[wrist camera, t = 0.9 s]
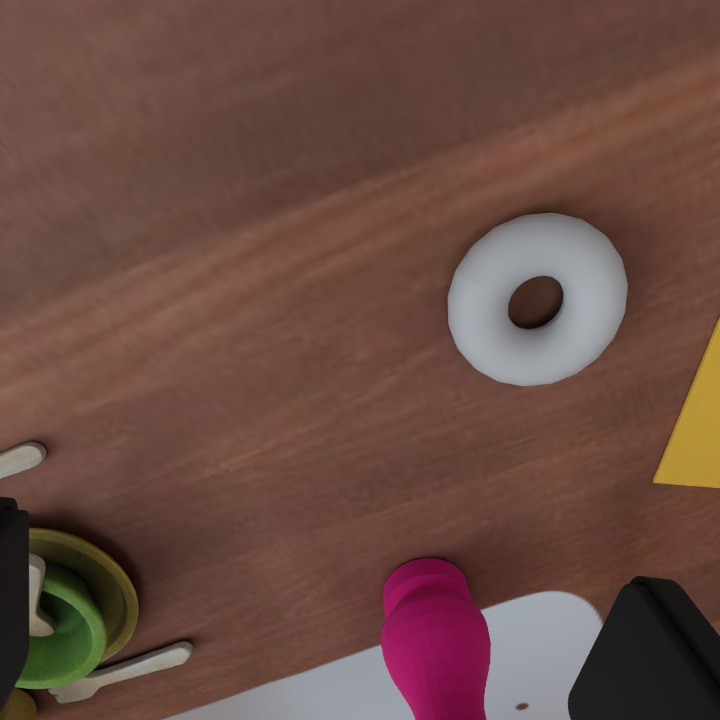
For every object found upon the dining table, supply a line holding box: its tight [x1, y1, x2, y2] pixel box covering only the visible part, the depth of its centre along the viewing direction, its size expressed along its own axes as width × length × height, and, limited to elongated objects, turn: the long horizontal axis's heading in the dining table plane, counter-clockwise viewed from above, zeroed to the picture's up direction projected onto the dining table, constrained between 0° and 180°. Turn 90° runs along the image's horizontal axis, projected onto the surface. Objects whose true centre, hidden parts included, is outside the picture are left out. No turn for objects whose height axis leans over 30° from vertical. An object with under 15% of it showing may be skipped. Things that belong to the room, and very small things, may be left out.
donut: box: [448, 213, 628, 386], centre depth 32 cm, size 10×3×10 cm
